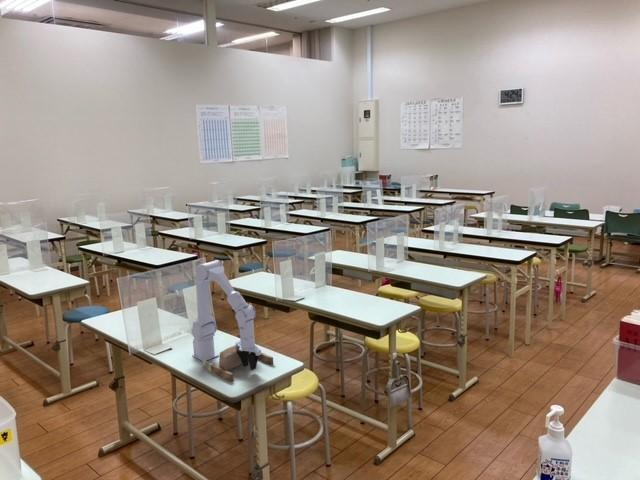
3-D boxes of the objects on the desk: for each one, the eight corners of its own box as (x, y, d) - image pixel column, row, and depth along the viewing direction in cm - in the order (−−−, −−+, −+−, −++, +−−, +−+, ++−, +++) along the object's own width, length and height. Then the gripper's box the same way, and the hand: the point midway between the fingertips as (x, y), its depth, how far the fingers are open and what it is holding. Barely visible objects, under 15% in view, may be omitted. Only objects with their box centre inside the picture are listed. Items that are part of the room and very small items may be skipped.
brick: (225, 356, 199) (218, 351, 202) (224, 373, 202) (217, 367, 205) (256, 341, 211) (249, 336, 213) (255, 357, 214) (248, 352, 217)
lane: (203, 367, 208) (202, 360, 207) (244, 351, 223) (244, 345, 222) (231, 382, 194) (230, 374, 194) (273, 364, 209) (273, 357, 209)
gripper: (228, 334, 203) (231, 365, 205) (250, 343, 193) (252, 375, 195) (242, 329, 208) (244, 360, 210) (264, 337, 198) (266, 369, 200)
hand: (249, 367), depth 203 cm, fingers open, 5 cm apart
